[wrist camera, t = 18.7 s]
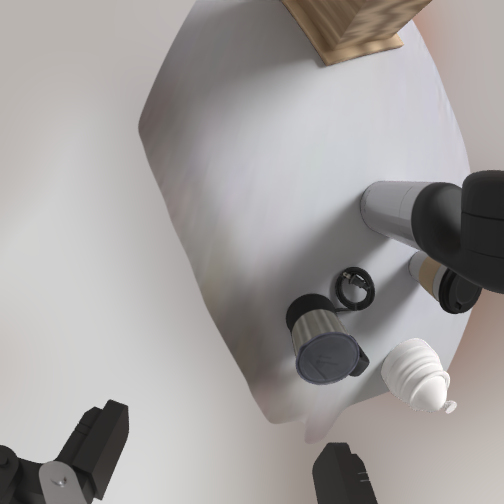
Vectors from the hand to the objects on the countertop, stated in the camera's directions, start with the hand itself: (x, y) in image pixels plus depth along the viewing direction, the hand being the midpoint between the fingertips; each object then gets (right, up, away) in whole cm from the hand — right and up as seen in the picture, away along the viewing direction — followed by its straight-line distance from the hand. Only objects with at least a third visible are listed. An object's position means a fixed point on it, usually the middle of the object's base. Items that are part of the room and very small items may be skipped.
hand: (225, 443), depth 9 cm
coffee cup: (+34, +5, +40) cm, 53 cm away
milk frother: (+15, -2, +42) cm, 44 cm away
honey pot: (+36, -17, +46) cm, 60 cm away
